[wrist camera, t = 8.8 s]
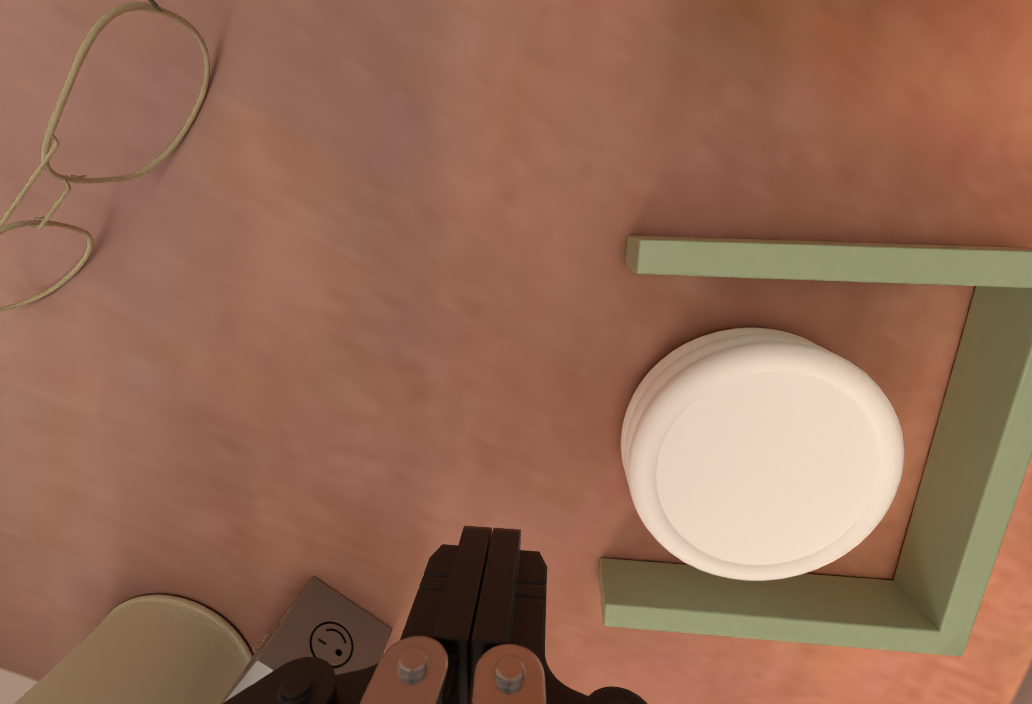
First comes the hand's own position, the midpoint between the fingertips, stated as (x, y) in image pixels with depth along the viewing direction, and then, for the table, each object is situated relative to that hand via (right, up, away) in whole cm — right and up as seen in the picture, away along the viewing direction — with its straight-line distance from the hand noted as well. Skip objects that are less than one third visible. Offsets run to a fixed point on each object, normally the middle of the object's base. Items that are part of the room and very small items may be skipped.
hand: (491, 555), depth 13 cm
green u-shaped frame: (+12, +2, +9) cm, 15 cm away
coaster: (+10, +2, +9) cm, 14 cm away
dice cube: (-9, -10, +14) cm, 19 cm away
